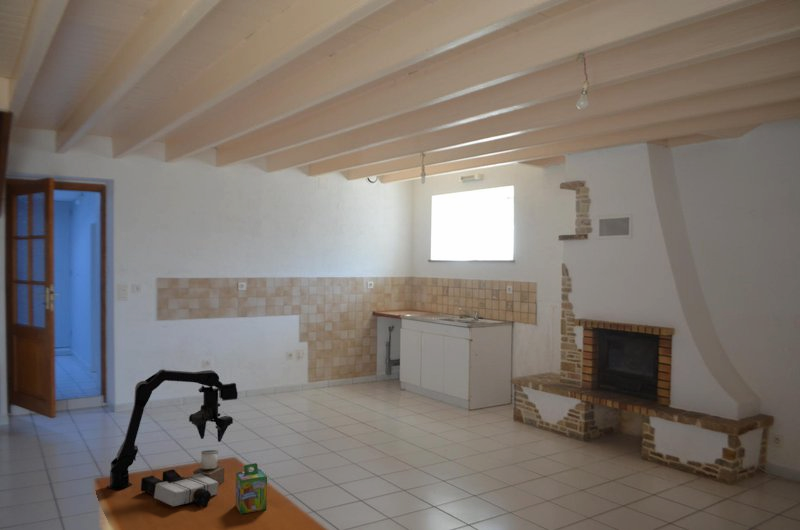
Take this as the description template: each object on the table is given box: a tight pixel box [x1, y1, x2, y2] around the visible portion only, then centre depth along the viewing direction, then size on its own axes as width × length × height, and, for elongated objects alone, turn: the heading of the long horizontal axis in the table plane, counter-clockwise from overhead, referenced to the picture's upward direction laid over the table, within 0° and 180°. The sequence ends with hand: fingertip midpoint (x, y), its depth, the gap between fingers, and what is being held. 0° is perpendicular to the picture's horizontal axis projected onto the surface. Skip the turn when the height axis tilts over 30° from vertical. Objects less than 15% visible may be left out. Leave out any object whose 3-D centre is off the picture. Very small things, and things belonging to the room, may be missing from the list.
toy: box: [140, 469, 219, 507], centre depth 211 cm, size 19×7×30 cm
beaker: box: [200, 449, 219, 469], centre depth 224 cm, size 6×6×6 cm
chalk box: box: [235, 462, 268, 515], centre depth 202 cm, size 9×9×15 cm
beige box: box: [192, 465, 226, 486], centre depth 224 cm, size 8×8×6 cm
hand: (210, 440), depth 237 cm, fingers open, 9 cm apart
